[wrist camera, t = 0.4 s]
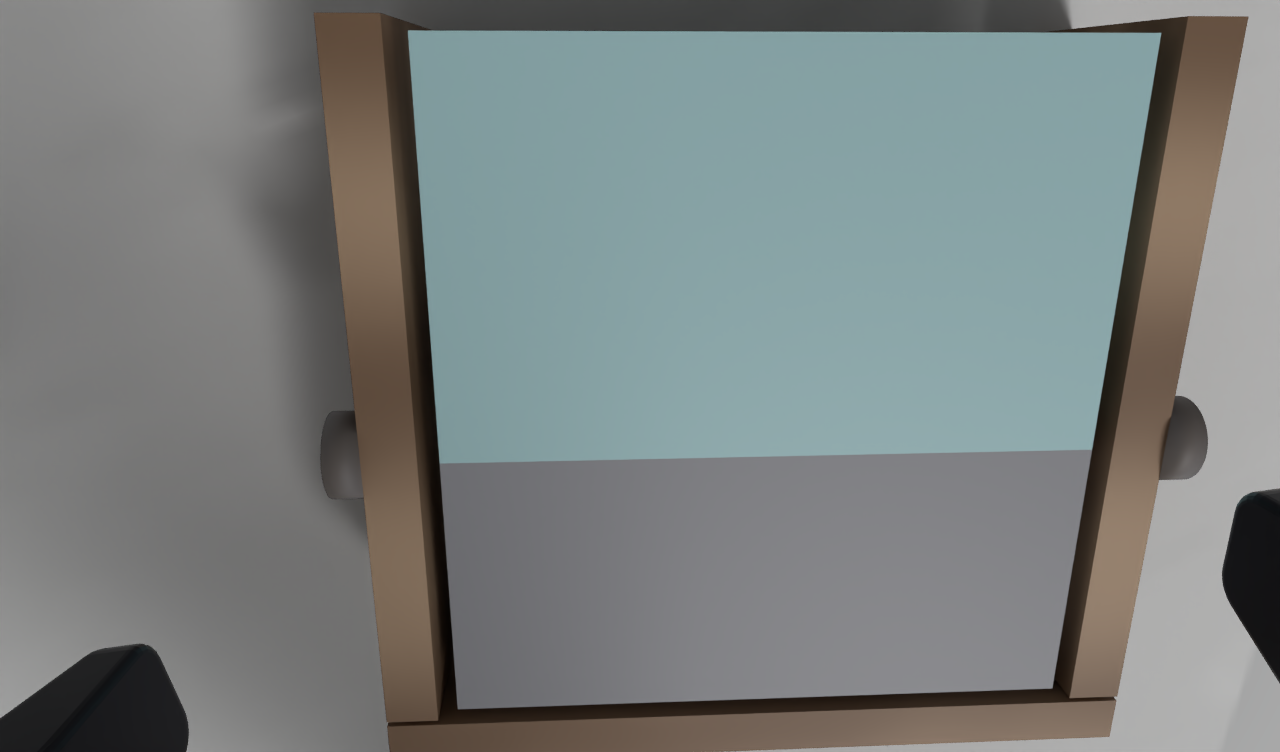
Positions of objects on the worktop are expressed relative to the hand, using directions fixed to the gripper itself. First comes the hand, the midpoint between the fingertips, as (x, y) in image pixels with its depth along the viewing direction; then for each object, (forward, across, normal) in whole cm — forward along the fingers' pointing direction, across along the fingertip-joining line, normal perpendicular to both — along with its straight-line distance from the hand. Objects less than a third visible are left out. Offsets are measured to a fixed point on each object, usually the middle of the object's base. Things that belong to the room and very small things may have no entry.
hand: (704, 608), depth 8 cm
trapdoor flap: (+10, -2, +3) cm, 11 cm away
